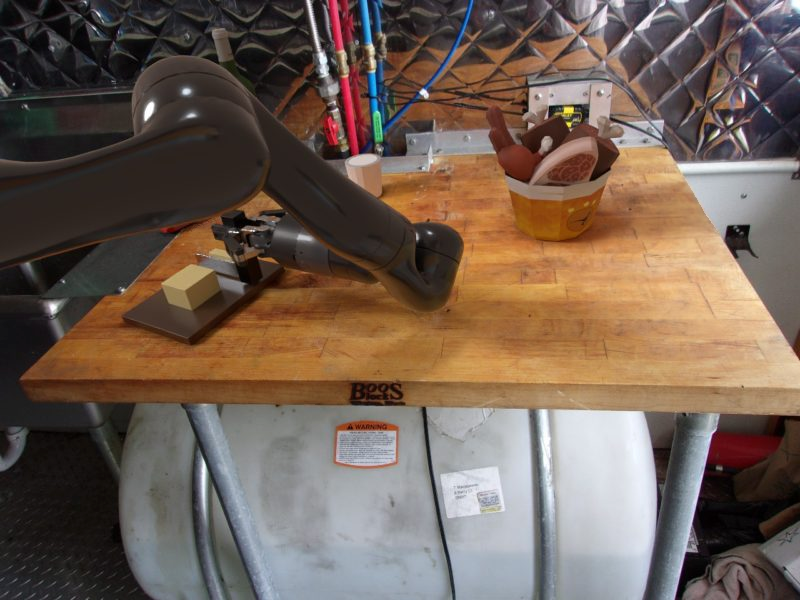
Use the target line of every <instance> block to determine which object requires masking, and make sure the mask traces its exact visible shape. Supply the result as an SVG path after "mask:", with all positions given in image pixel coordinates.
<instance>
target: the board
mask: <svg viewBox="0 0 800 600" xmlns="http://www.w3.org/2000/svg"><path fill="white" fill-rule="evenodd" d="M258 261H259V264H260V268H261V271H262V275H263V278H261V279H260V280H259V281H257V282H256V283H255V284H253V285H250V284H246V283H242V282H241V281H240V278H239V277H234V276H230V275H226V274H223V273H219V272H215V273H216V276H217V279H218V282H219V285H220V288H221V290H220V291H219V292H217V293H216V294H215V295H213V296H212V297H210V298H209V299H208V300H206V301H205V302H204V303H202V304H201V305H200V306H198V307H197V308H195V309H194V310H193V311H192V310H189V309H185V308H182V307H179V306H176V305H172V304H169V302H168V300H167V297H166V295H165V292H164V290H163V288H161V289H159V290H158V291H156V292H155V293H153V294H152V295H150V296H148V297H147V298H145V299H144V300H142V301H141V302H140V303H138V304H136V305H135V306H134V307H132V308H130V309H129V310H128V311H126V312H124V313H123V314H122V315H121V318H122V321H123V323H126V324H128V325H131V326H134V327H137V328H139V329H143V330H144V331H149V332H151V333H154V334H157V335H160V336H163V337H165V338H169V339H171V340H174V341H178V342H180V343H183V344H186V345H189V346H192V345H194V343H196V342H197V341H198V340H200V339H201V338H202V337H203V336H205V335H206V334H207V333H208V332H210V331H211V330H212V329H214V328H215V327H216V326H217V325H219V324H220V323H221V322H222V321H224V320H225V319H226V318H228V317H229V316H230V315H231V314H233V313H234V312H235V311H237V310H238V309H239V308H240V307H241V306H243V305H244V304H245V303H247V302H248V301H250V300H251V299H252V298H253V297H254V296H255V295H257V294H258V293H260V292H261V291H262V290H264V289H265V288H266V287H267V286H268V285H269V284H271V283H272V282H273V281H275V280H276V279H278V278H279V277H280V276H281V275H282V274H284V273H285V272H286V268H285V267H283V266H281V265H280V264H279V263H277V262H272V261H267V260H264V259H261V258H258ZM196 265H197V266H199V265H198V264H196Z"/></svg>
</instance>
